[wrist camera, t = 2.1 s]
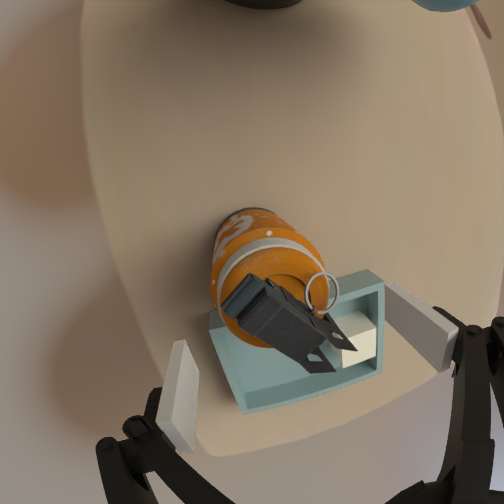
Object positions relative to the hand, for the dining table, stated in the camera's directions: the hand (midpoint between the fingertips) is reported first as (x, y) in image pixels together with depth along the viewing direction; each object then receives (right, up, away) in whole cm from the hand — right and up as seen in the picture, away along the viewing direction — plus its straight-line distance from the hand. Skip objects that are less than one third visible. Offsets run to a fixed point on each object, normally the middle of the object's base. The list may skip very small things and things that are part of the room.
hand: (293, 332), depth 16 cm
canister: (-2, +5, +17) cm, 18 cm away
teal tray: (+5, -8, +21) cm, 23 cm away
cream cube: (+11, -6, +21) cm, 24 cm away
